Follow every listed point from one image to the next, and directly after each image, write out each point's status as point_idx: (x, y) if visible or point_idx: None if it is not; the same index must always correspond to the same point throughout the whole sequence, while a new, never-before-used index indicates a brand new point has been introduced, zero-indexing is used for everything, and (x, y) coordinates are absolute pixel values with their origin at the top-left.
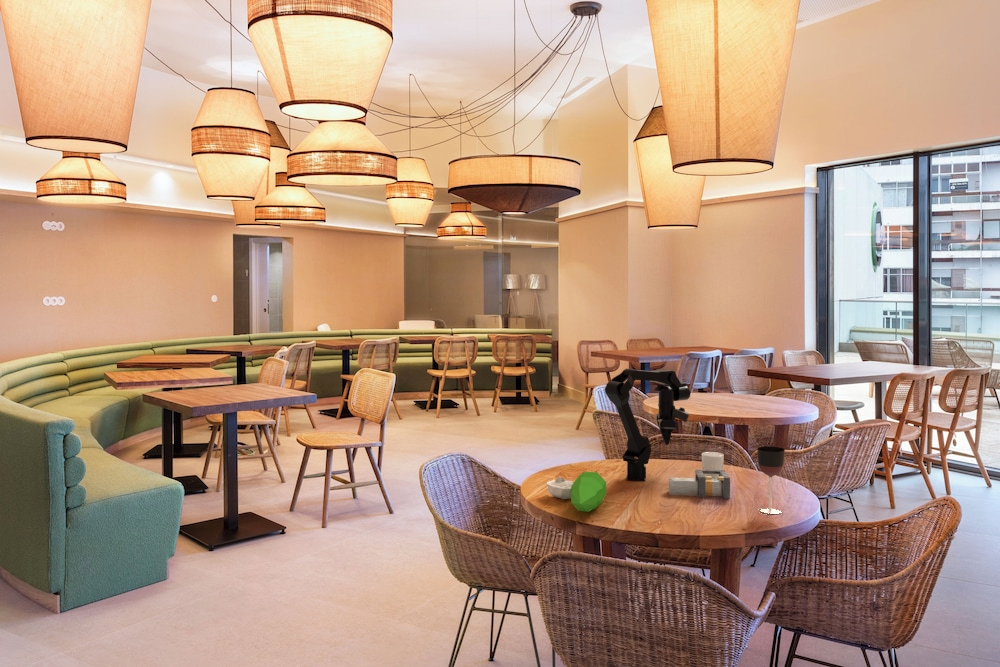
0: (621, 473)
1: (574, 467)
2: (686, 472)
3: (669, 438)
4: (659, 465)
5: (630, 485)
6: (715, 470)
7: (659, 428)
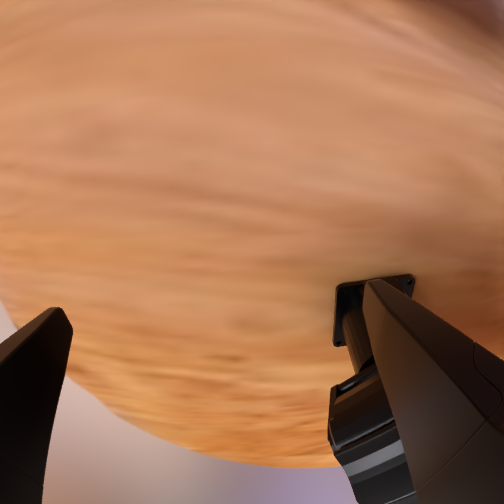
0: (277, 361)
1: (224, 446)
2: (167, 53)
3: (452, 333)
4: (54, 224)
5: (459, 310)
6: None
7: (44, 469)
